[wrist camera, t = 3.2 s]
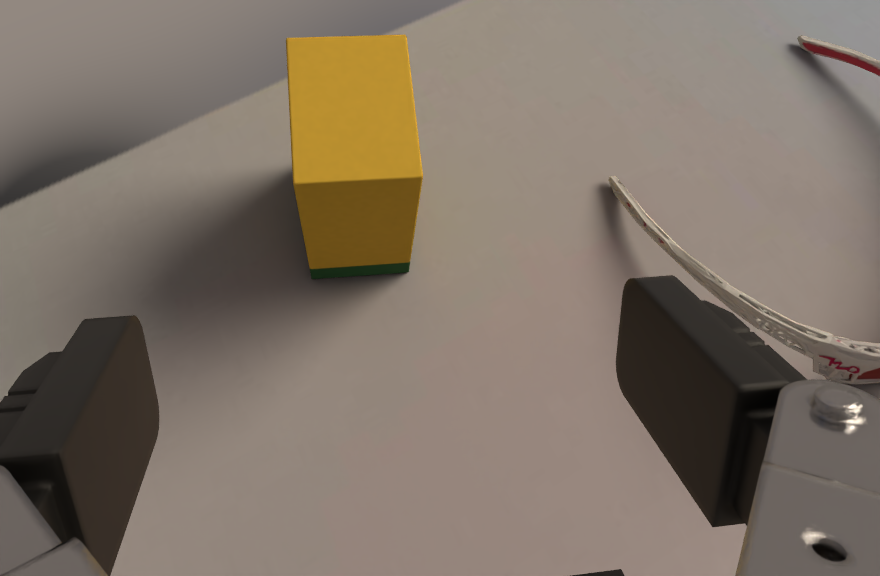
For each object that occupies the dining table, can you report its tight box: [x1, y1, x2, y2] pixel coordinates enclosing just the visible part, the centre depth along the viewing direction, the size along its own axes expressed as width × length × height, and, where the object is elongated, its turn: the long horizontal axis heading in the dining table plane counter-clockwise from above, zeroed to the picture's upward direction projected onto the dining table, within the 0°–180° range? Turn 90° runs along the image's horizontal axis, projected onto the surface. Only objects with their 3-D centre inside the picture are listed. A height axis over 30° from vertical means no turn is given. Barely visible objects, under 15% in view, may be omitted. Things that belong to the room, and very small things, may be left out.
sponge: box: [286, 35, 423, 279], centre depth 30 cm, size 4×6×9 cm
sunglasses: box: [609, 35, 880, 384], centre depth 35 cm, size 17×17×5 cm
